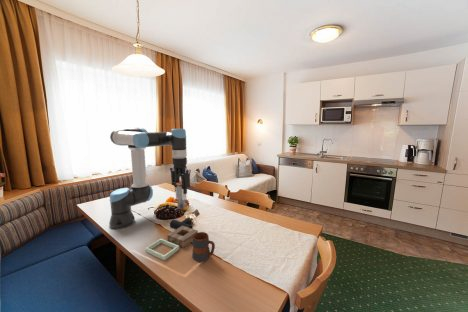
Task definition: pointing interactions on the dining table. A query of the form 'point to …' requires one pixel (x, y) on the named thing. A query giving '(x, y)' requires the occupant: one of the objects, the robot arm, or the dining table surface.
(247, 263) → the dining table surface
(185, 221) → the pipe connector
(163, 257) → the pale green rectangular frame
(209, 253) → the mug
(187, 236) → the socket block
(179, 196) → the pin
